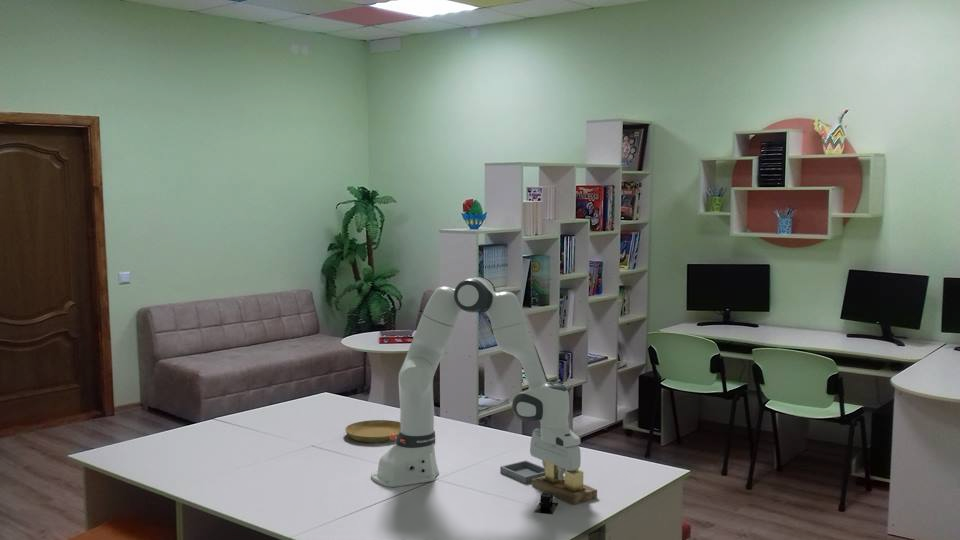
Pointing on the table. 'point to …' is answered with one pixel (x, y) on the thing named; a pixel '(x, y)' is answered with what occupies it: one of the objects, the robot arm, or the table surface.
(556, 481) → the block
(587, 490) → the pallet
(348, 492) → the table surface
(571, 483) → the block
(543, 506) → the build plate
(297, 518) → the table surface
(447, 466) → the table surface
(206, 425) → the table surface
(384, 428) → the plant saucer
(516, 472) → the shallow grey tray
